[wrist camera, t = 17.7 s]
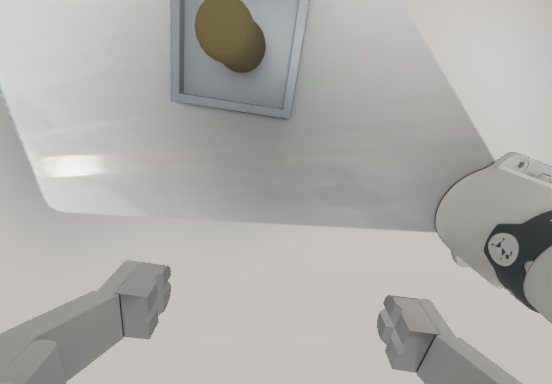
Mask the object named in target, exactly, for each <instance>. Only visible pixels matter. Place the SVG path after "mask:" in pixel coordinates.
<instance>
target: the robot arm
mask: <svg viewBox="0 0 552 384" xmlns="http://www.w3.org/2000/svg"><path fill="white" fill-rule="evenodd" d="M519 163H520V165H519V166H518V164H519ZM436 230H437V233H438V235H439V237H440V239H441V240H442V241H443V242H444V243H445V244H446V245H447V246H448V247H449V248H450V250H451V253H452V257H453V259H454V261H455V262H456V263H457V264H458V265H460V266H462V267H471V268H472V269H473V270H475V271H476V272H477V273H478V274H479V275H481V276H482V277H483V278H484V279H486V280H487V281H488V282H489V283H491V284H492V285H493V286H495V287H497V288H499V289H501V288H504V289H507V290H508V291H509V292H510V294H511V295H512V296H514V297H515V298H516V299H517V300H519V301H520V302H522V303H523V304H525V305H526V306H527V307H528V308H529V309H531V310H533V311H535V312H538V313H540V314H542V315H543V316H544V317H545V318H546V319H547V320H548V321H550V322H551V323H552V167H551V166H548V165H546V164H544V163H541V162H538V161H536V160H533V159H531V158H529V157H526V156H523V155H521V154H518V153H515V152H510V153H507V154H505V155H504V156H502V157H501V158H500V159H498V160H497V161H496V162H495V163H493V164H492V165H491V166H489V167H487V168H485V169H482V170H480V171H477V172H475V173H472V174H470V175H468V176H467V177H465V178H463V179H462V180H460V181H459V182H458V183H457V184H455V185H454V186H453V187H452V188H451V189H450V190H449V191H448V193H447V194H446V195H445V196H444V198H443V200H442V201H441V203H440V205H439V207H438V210H437V214H436ZM170 275H171V273H170V267H169V266H164V265H157V264H151V263H145V262H137V261H130V260H128V261H125V262H124V263H123V264H122V265H121V266H120V267H119V268H118V269H117V271H116V272H115V273H114V274H113V275H112V276H111V277H110V278H109V279H108V280H107V282H106V283H105V284H104V285H103V286H102V287H101V288H100V289H99V290H98V291H92V292H90V293H88V294H85V295H83V296H81V297H79V298H77V299H75V300H73V301H71V302H68V303H66V304H64V305H62V306H59V307H57V308H55V309H53V310H51V311H49V312H46V313H44V314H42V315H40V316H38V317H36V318H33V319H31V320H29V321H27V322H24V323H22V324H20V325H18V326H16V327H14V328H12V329H9V330H7V331H5V332H3V333H1V334H0V384H66V382H67V381H68V380H69V379H71V378H72V377H73V376H74V375H76V374H77V373H78V372H80V371H81V370H82V369H84V368H85V367H86V366H87V365H89V364H90V363H91V362H93V361H94V360H95V359H97V358H98V357H99V356H100V355H102V354H103V353H104V352H106V351H107V350H108V349H110V348H111V347H112V346H114V345H115V344H116V343H117V342H119V341H120V340H121V339H122V338H123V337H134V338H144V339H149V338H150V337H151V335H152V333H153V331H154V329H155V327H156V326H157V324H158V315H159V314H161V313H162V312H164V310H165V308H166V306H167V303H168V301H169V298H170V292H171V285H170V283H169V282H168V279H169V277H170ZM384 306H385V309H384V310H382V311H381V312H380V313H379V316H378V321H377V328H378V333H379V336H380V338H381V340H382V341H383V342H384V343H385V344H386V345H387V347H386V350H385V351H386V354H387V356H388V359H389V361H390V364H391V366H392V369H396V370H403V371H409V372H416V373H417V375H418V376H419V377H420V378H421V380H422V381H423V382H424V383H425V384H522V383H521V382H519V381H518V380H517V379H515V378H514V377H513V376H511V375H510V374H508V373H507V372H506V371H504V370H503V369H502V368H500V367H499V366H498V365H496V364H495V363H494V362H492V361H491V360H489V359H488V358H487V357H485V356H484V355H483V354H481V353H480V352H479V351H477V350H476V349H475V348H473V347H472V346H470V345H469V344H468V343H466V342H465V341H464V340H462V339H461V338H456V337H455V335H454V334H453V332H452V331H451V329H450V328H449V327H448V325H447V324H446V323H445V321H444V319H443V318H442V316H441V315H440V314H439V312H438V311H437V309H436V308H435V306H434V305H433V303H432V302H431V301H429V300H426V299H417V298H415V299H414V298H406V297H398V296H390V295H388V296H387V297H386V298H385V300H384Z"/></svg>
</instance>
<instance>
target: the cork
mask: <svg viewBox="0 0 552 384" xmlns="http://www.w3.org/2000/svg"><path fill="white" fill-rule="evenodd" d="M195 32H196V37H197V40H198V42H199V44H200V46H201V48H202V49H203V51H204V52H205V53H206V54H207V55H208V56H209V57H211V58H212V59H214V60H215V61H218V62H222V63H223V64H224V65H225V66H226V67H227V68H229V69H230V70H232V71H234V72H238V73H246V72H250V71H252V70H254V69H255V68H256V67H257V66H258V65H259V64H260V63H261V61H262V59H263V58H264V55H265V50H266V43H265V37H264V34H263V32H262V30H261V28H260V27H259V26H258V24H257V23H256V22H254V21H253V18H252V15H251V13H250V11H249V10H248V8H247V7H246V5H245V4H244V3H243V2H242V1H240V0H205V1H204V2H203V3H202V4H201V5H200V7H199V9H198V11H197V14H196V18H195Z"/></svg>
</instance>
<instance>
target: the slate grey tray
mask: <svg viewBox="0 0 552 384" xmlns="http://www.w3.org/2000/svg"><path fill="white" fill-rule="evenodd" d="M204 1H205V0H171V101H176V102H182V103H189V104H195V105H202V106H208V107H215V108H221V109H228V110H234V111H241V112H247V113H253V114H260V115H266V116H273V117H279V118H286V119H290V115H291V108H292V102H293V96H294V90H295V84H296V78H297V71H298V65H299V59H300V53H301V47H302V40H303V34H304V28H305V22H306V16H307V9H308V3H309V0H240V1H242V2H243V3H244V4H245V5H246V7H247V8H248V10H249V11H250V13H251V15H252V18H253V21H254V22H256V23H257V24H258V26H259V27H260V28H261V30H262V32H263V34H264V37H265V43H266V50H265V55H264V58H263V59H262V61H261V63H260V64H259V65H258V66H257V67H256V68H255V69H254V70H252V71H250V72H246V73H238V72H234V71H232V70H230V69H229V68H227V67H226V66H225V65H224V64H223V63H222V62H218V61H215V60H214V59H212V58H211V57H209V56H208V55H207V54H206V53H205V52H204V51H203V49H202V48H201V46H200V44H199V42H198V40H197V37H196V32H195V18H196V14H197V11H198V9H199V7H200V5H201V4H202V3H203V2H204Z"/></svg>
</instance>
